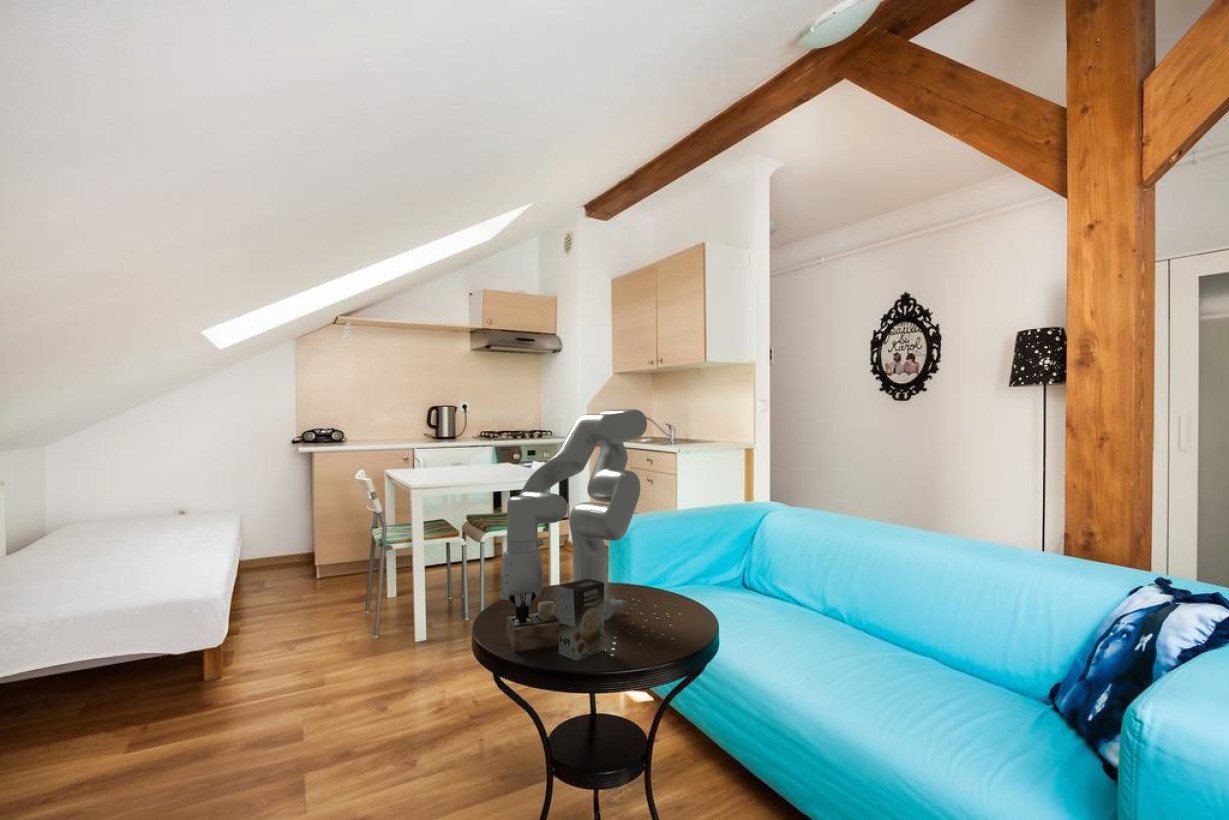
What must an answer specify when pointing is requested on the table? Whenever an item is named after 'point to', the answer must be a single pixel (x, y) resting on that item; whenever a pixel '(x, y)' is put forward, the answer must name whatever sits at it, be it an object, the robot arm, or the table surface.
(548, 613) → the peg inner
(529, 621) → the peg outer
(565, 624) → the cookie box
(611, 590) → the table surface
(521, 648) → the press block
